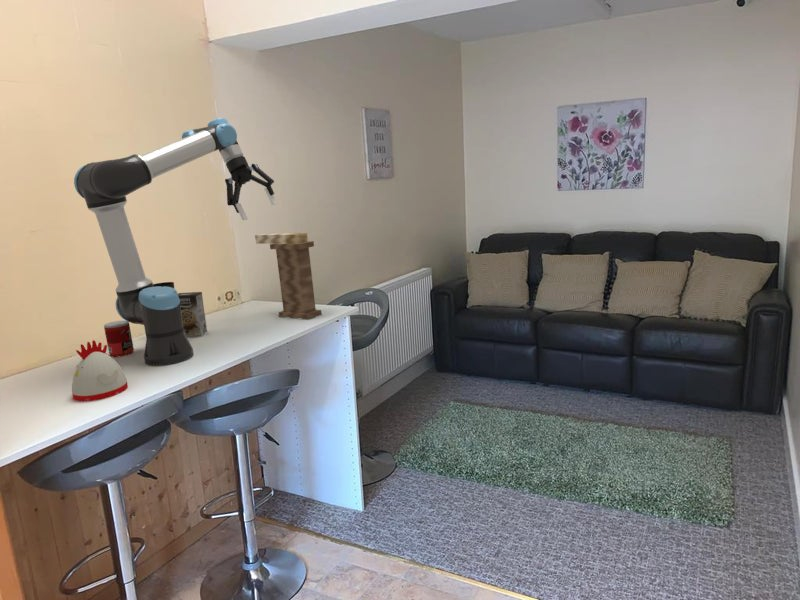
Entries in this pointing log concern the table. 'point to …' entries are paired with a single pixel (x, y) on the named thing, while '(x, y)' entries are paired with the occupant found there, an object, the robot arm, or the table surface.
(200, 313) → the coffee box
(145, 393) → the table surface
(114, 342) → the canned food
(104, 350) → the kitchen timer
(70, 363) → the table surface
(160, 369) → the table surface
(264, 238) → the handle
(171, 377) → the table surface
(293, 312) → the pedestal
